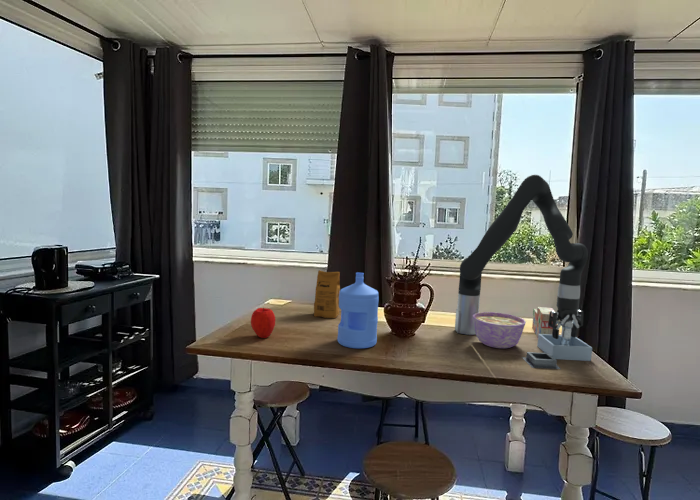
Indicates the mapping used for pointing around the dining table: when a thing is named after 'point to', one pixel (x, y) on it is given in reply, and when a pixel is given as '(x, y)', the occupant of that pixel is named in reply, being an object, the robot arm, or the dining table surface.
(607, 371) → the dining table surface
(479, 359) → the dining table surface
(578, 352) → the bin
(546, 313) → the stack of blocks
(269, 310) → the apple
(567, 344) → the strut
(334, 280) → the coffee package
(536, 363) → the socket block
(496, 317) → the bowl of food
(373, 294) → the water jug
